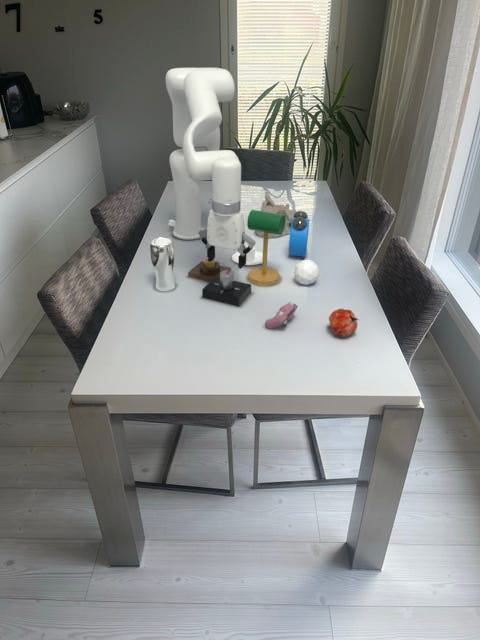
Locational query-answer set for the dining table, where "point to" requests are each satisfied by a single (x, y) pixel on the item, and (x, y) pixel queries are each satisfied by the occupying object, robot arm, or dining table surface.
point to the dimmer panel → (226, 292)
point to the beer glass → (163, 262)
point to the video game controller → (281, 315)
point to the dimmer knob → (226, 280)
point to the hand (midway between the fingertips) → (226, 263)
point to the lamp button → (209, 263)
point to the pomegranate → (343, 322)
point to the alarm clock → (299, 234)
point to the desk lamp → (265, 244)
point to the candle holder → (250, 257)
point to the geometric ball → (306, 272)
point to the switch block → (207, 271)
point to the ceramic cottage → (278, 209)
